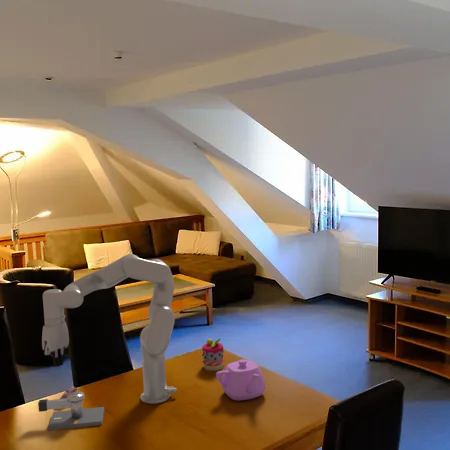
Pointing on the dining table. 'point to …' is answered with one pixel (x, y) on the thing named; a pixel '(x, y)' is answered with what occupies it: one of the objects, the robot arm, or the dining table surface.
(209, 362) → the cake
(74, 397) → the lever
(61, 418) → the base plate
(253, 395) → the teapot
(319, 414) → the dining table surface
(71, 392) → the video game controller
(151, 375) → the robot arm
